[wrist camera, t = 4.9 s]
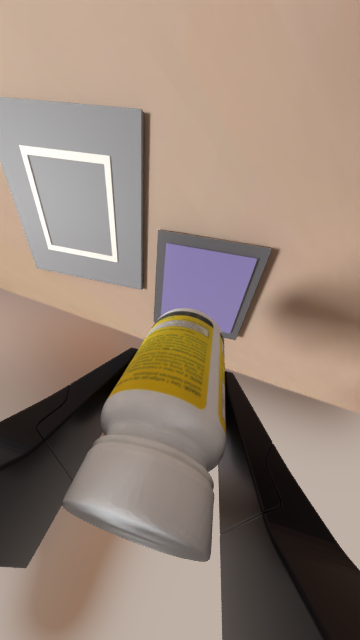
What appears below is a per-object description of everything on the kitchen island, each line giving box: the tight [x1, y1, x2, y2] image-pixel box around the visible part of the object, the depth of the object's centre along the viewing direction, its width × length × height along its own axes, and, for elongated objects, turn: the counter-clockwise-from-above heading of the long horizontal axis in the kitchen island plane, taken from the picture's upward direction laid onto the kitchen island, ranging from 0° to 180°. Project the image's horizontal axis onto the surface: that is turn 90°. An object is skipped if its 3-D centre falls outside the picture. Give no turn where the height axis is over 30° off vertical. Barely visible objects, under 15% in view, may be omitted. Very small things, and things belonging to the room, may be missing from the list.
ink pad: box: [154, 230, 272, 340], centre depth 19 cm, size 11×11×1 cm
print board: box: [0, 97, 144, 290], centre depth 18 cm, size 15×15×1 cm
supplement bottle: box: [62, 308, 226, 562], centre depth 8 cm, size 5×5×8 cm
